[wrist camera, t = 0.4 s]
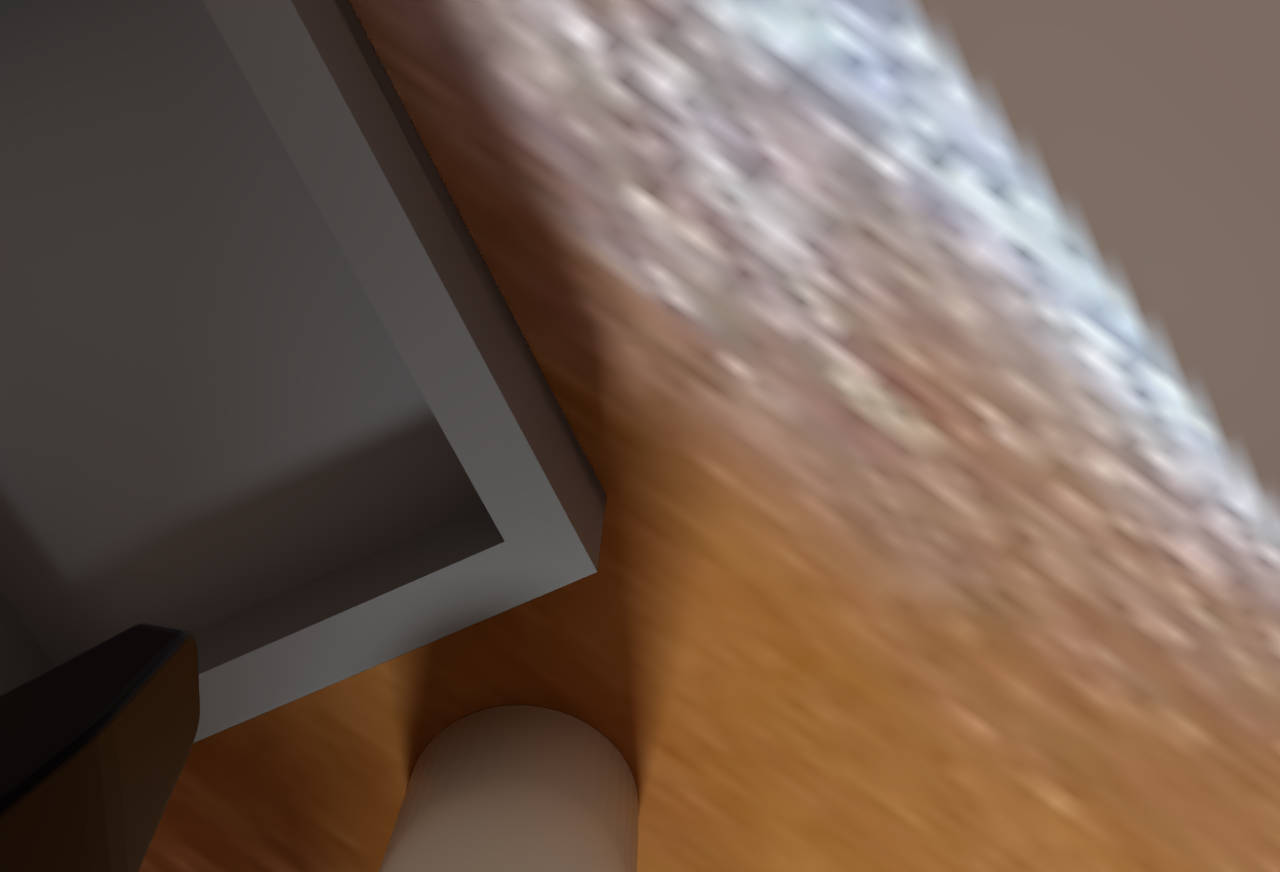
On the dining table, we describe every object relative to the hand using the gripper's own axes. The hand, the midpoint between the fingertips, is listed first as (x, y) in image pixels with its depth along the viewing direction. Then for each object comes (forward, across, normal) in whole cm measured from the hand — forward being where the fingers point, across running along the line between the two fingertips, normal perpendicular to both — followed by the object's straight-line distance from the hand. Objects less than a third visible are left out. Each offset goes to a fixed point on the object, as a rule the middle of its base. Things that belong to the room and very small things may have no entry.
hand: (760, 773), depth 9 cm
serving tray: (+13, +11, +4) cm, 18 cm away
